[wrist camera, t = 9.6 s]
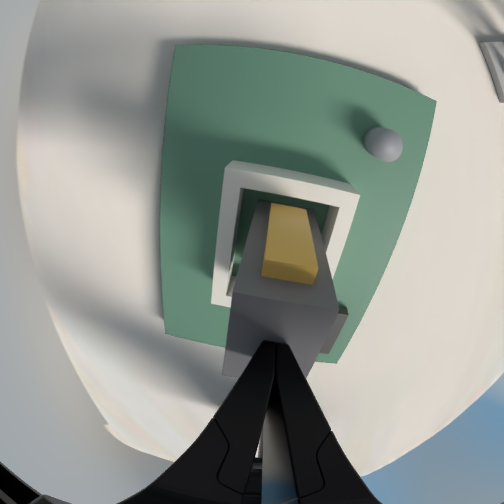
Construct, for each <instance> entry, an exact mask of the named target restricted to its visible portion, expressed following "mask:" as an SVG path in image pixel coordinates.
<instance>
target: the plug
mask: <svg viewBox="0 0 504 504" xmlns="http://www.w3.org/2000/svg"><path fill="white" fill-rule="evenodd" d="M338 312H339V306H338V301H337V297H336V293H335V288H334V284H333V280H332V276H331V272H330V268H329V264H328V260H327V256H326V252H325V248H324V245H323V241H322V237H321V234H320V230H319V227H318V223H317V220H316V216H315V213H314V209H309V208H304V207H299V206H294V205H289V204H283V203H278V202H273V201H267V200H261V199H258V201H257V204H256V208H255V212H254V215H253V219H252V222H251V226H250V230H249V233H248V237H247V241H246V244H245V248H244V252H243V255H242V259H241V263H240V266H239V270H238V274H237V277H236V281H235V285H234V288H233V292H232V300H231V308H230V315H229V323H228V331H227V339H226V347H225V355H224V364H223V372H222V375H226V376H231V377H237V378H239V377H240V376H241V374H242V372H243V371H244V369H245V368H246V366H247V365H248V363H249V361H250V360H251V358H252V357H253V355H254V353H255V352H256V350H257V348H258V347H259V345H260V344H261V342H262V341H263V340H267V341H273V342H275V343H277V342H280V343H286V344H288V345H289V346H290V348H291V350H292V352H293V354H294V356H295V358H296V360H297V362H298V364H299V366H300V368H301V370H302V372H303V374H304V376H305V378H306V377H307V376H308V374H309V372H310V370H311V368H312V366H313V364H314V362H315V360H316V358H317V356H318V354H319V352H320V350H321V348H322V346H323V344H324V342H325V340H326V338H327V336H328V334H329V331H330V329H331V327H332V325H333V323H334V321H335V318H336V316H337V314H338Z"/></svg>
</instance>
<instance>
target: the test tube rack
mask: <svg viewBox="0 0 504 504" xmlns="http://www.w3.org/2000/svg"><path fill="white" fill-rule="evenodd" d="M479 45H480V47H481V50H482V52H483V54H484V57H485V59H486V62H487V65H488V67H489V70H490V73H491V76H492V79H493V82H494V85H495V88H496V91H497V95H498V98H499V101H500V103H504V41H488V42H479Z"/></svg>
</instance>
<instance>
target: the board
mask: <svg viewBox="0 0 504 504" xmlns="http://www.w3.org/2000/svg"><path fill="white" fill-rule="evenodd" d="M435 107H436V101H435V100H433V99H431V98H429V97H427V96H425V95H423V94H420V93H418V92H416V91H414V90H412V89H409V88H407V87H405V86H402V85H400V84H397V83H395V82H392V81H390V80H387V79H385V78H382V77H379V76H376V75H373V74H371V73H368V72H365V71H362V70H358V69H355V68H352V67H349V66H345V65H342V64H338V63H334V62H330V61H326V60H322V59H318V58H314V57H309V56H304V55H299V54H294V53H289V52H283V51H276V50H269V49H262V48H253V47H243V46H229V45H203V44H190V45H176V47H175V52H174V58H173V64H172V70H171V77H170V84H169V91H168V99H167V107H166V117H165V127H164V138H163V151H162V168H161V192H160V257H161V282H162V299H163V313H164V324H165V334H168V335H172V336H176V337H180V338H184V339H188V340H193V341H197V342H201V343H206V344H211V345H215V346H220V347H226V339H227V331H228V323H229V315H230V308H231V300H232V292H233V288H234V285H235V281H236V277H237V274H238V270H239V266H240V263H241V259H242V255H243V252H244V248H245V244H246V241H247V237H248V233H249V230H250V226H251V222H252V219H253V215H254V212H255V208H256V204H257V201H258V199H261V200H267V201H273V202H278V203H283V204H289V205H294V206H299V207H304V208H309V209H314V213H315V216H316V220H317V223H318V227H319V230H320V234H321V237H322V241H323V245H324V248H325V252H326V256H327V260H328V264H329V268H330V272H331V276H332V280H333V284H334V288H335V293H336V297H337V301H338V306H339V312H338V314H337V316H336V318H335V321H334V323H333V325H332V327H331V329H330V331H329V334H328V336H327V338H326V340H325V342H324V344H323V346H322V348H321V350H320V352H319V354H318V356H317V358H316V360H315V361H316V362H325V363H336V364H337V362H338V360H339V359H340V357H341V355H342V353H343V352H344V350H345V348H346V347H347V345H348V343H349V341H350V339H351V338H352V336H353V334H354V332H355V330H356V329H357V327H358V325H359V323H360V321H361V319H362V317H363V315H364V313H365V311H366V309H367V307H368V305H369V303H370V301H371V299H372V297H373V295H374V293H375V291H376V289H377V287H378V285H379V282H380V280H381V278H382V276H383V274H384V271H385V269H386V267H387V264H388V262H389V260H390V257H391V255H392V253H393V250H394V248H395V245H396V243H397V240H398V237H399V235H400V232H401V230H402V227H403V224H404V221H405V219H406V216H407V213H408V210H409V207H410V204H411V201H412V198H413V195H414V192H415V189H416V186H417V182H418V179H419V175H420V172H421V168H422V165H423V161H424V157H425V153H426V149H427V145H428V141H429V137H430V132H431V128H432V123H433V118H434V113H435Z"/></svg>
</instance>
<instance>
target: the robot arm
mask: <svg viewBox="0 0 504 504" xmlns="http://www.w3.org/2000/svg"><path fill="white" fill-rule="evenodd" d="M259 440H260V443H259ZM258 444H259V451H258V458H255V455H256V451H257V447H258ZM0 504H70V503H68V502H65V501H62V500H59V499H56V498H54V497H51V496H48V495H42V494H40V493H39V492H37V491H36V490H35V489H33V488H32V487H31V486H29V485H28V484H26V483H25V482H24V481H23V480H21V479H20V478H19V477H18V476H16V475H15V474H14V473H13V472H12V471H10V470H9V469H8V468H7V467H6V466H5V465H3V464H2V463H1V462H0ZM117 504H382V503H381V502H380V501H378V500H377V499H376V498H375V497H374V495H373V494H372V493H371V491H370V490H369V489H368V487H367V486H366V484H365V483H364V482H363V480H362V479H361V478H360V476H359V475H358V473H357V472H356V470H355V469H354V468H353V466H352V465H351V463H350V462H349V460H348V458H347V457H346V455H345V454H344V452H343V450H342V448H341V447H340V445H339V443H338V441H337V439H336V437H335V435H334V433H333V431H331V428H330V426H329V424H328V422H327V420H326V418H325V416H324V414H323V412H322V410H321V408H320V406H319V404H318V402H317V400H316V398H315V396H314V394H313V392H312V390H311V388H310V386H309V384H308V382H307V380H306V378H305V376H304V374H303V372H302V370H301V368H300V366H299V364H298V362H297V360H296V358H295V356H294V354H293V352H292V350H291V348H290V346H289V345H288V344H286V343H280V342H277V343H275V342H273V341H267V340H263V341H262V342H261V344H260V345H259V347H258V348H257V350H256V352H255V353H254V355H253V357H252V358H251V360H250V361H249V363H248V365H247V366H246V368H245V369H244V371H243V372H242V374H241V376H240V377H239V379H238V380H237V382H236V383H235V385H234V386H233V388H232V389H231V391H230V392H229V394H228V396H227V397H226V399H225V400H224V402H223V403H222V405H221V406H220V407H219V409H218V410H217V412H216V413H215V415H214V416H213V418H212V419H211V420H210V422H209V423H208V425H207V426H206V428H205V429H204V430H203V432H202V433H201V434H200V435H199V437H198V438H197V439H196V440H195V442H194V443H193V444H192V445H191V446H190V447H189V448H188V449H187V450H186V451H185V452H184V453H183V454H182V455H181V456H180V457H179V458H178V459H177V460H176V461H175V462H174V463H173V464H172V465H171V466H170V467H169V468H168V469H167V470H166V471H165V472H164V473H162V474H161V475H160V476H159V477H158V478H157V479H156V480H155V481H153V482H152V483H151V484H150V485H148V486H147V487H146V488H145V489H143V490H141V491H140V492H138V493H136V494H134V495H133V496H131V497H129V498H127V499H125V500H123V501H121V502H120V503H117ZM501 504H504V502H503V503H501Z"/></svg>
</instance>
